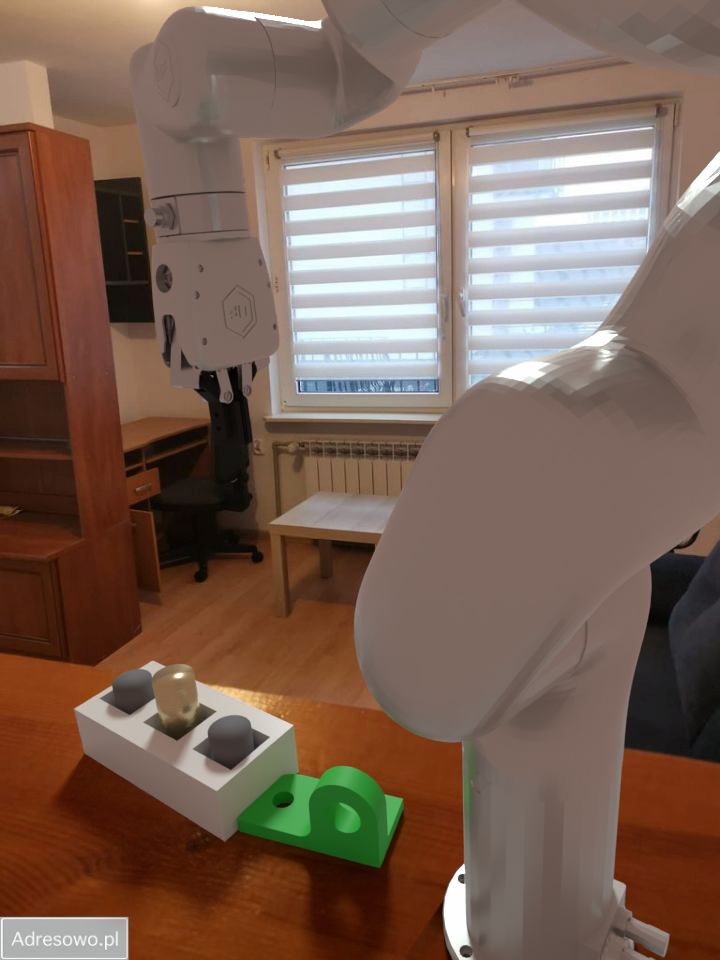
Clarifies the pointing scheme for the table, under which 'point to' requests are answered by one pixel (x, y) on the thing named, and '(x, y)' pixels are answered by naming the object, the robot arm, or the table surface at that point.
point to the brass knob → (176, 700)
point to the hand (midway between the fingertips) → (233, 443)
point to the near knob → (230, 740)
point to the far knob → (133, 690)
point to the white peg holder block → (188, 755)
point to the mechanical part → (327, 815)
